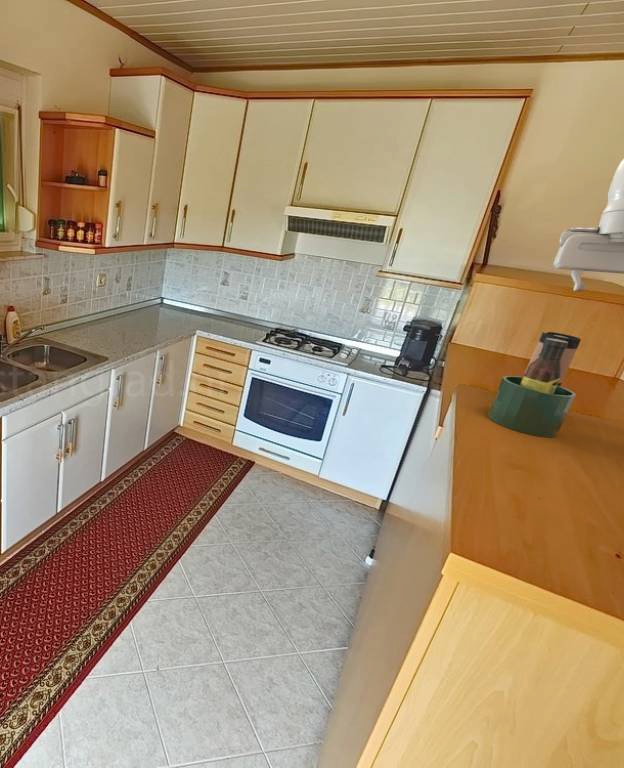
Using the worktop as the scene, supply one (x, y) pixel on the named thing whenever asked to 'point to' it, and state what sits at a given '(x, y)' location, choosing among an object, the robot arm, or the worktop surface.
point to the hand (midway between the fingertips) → (606, 293)
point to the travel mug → (567, 353)
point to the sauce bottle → (545, 367)
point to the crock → (530, 408)
